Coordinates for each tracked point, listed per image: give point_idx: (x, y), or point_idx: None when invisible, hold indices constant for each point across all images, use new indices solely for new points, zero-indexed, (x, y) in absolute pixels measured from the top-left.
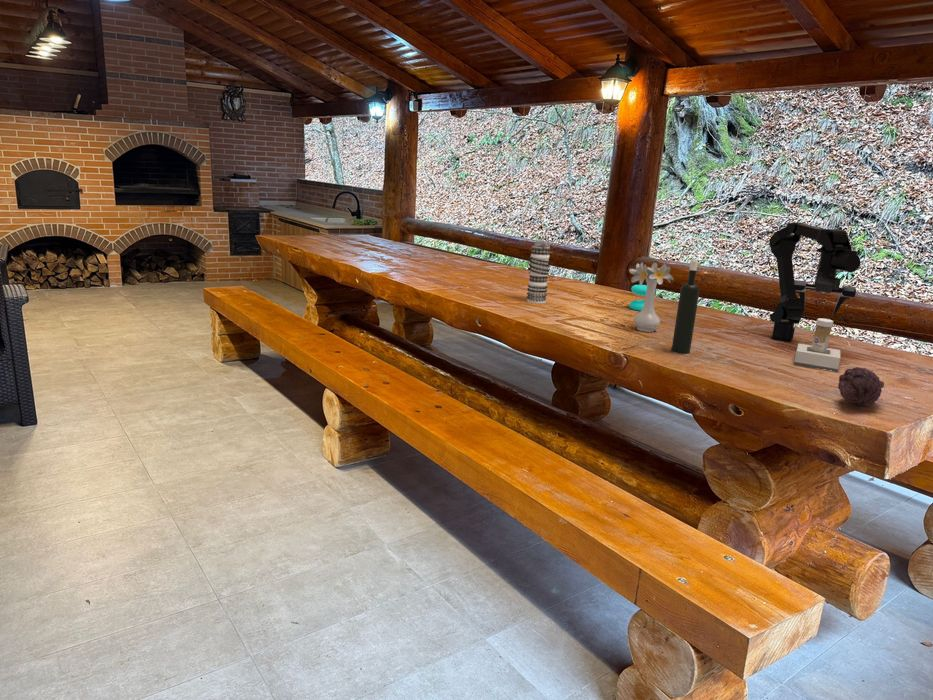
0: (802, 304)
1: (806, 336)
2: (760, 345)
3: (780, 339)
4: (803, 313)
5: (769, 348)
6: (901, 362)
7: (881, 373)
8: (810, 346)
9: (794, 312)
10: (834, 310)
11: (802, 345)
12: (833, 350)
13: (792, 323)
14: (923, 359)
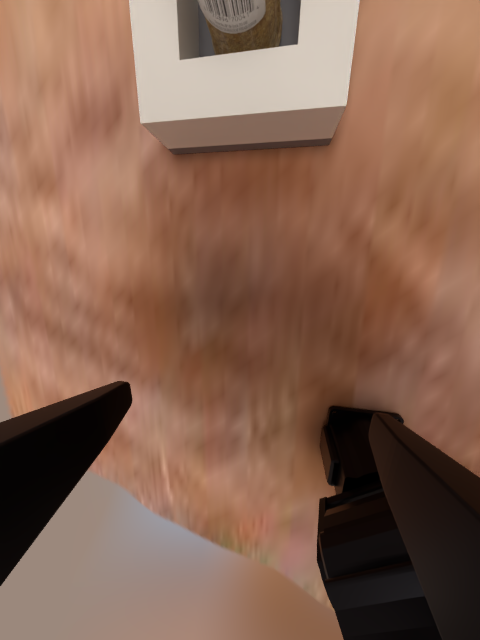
0: (469, 476)
1: (272, 506)
2: (474, 270)
3: (367, 412)
4: (321, 543)
5: (437, 235)
6: (35, 336)
7: (40, 114)
8: (280, 70)
9: (387, 533)
10: (85, 403)
11: (326, 54)
12: (165, 70)
13: (350, 489)
14: (11, 404)
